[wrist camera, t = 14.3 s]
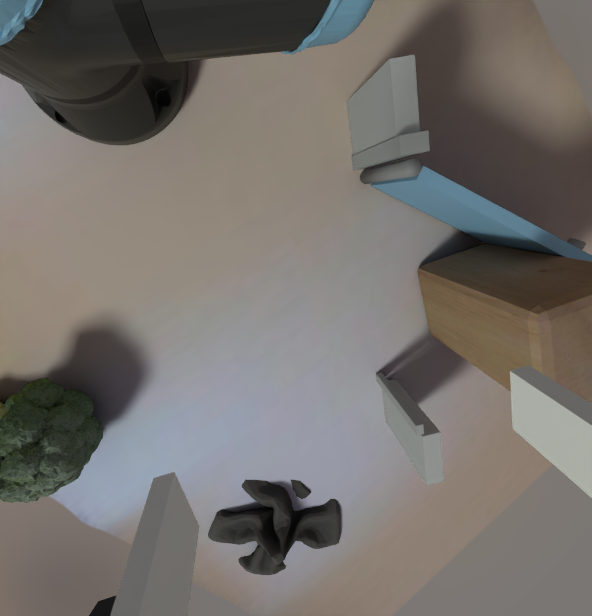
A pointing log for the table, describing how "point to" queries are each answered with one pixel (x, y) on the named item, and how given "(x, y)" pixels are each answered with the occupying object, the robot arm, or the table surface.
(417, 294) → the table surface
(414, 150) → the wall frame
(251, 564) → the cloth
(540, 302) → the wooden block
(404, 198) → the door
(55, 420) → the vegetable
